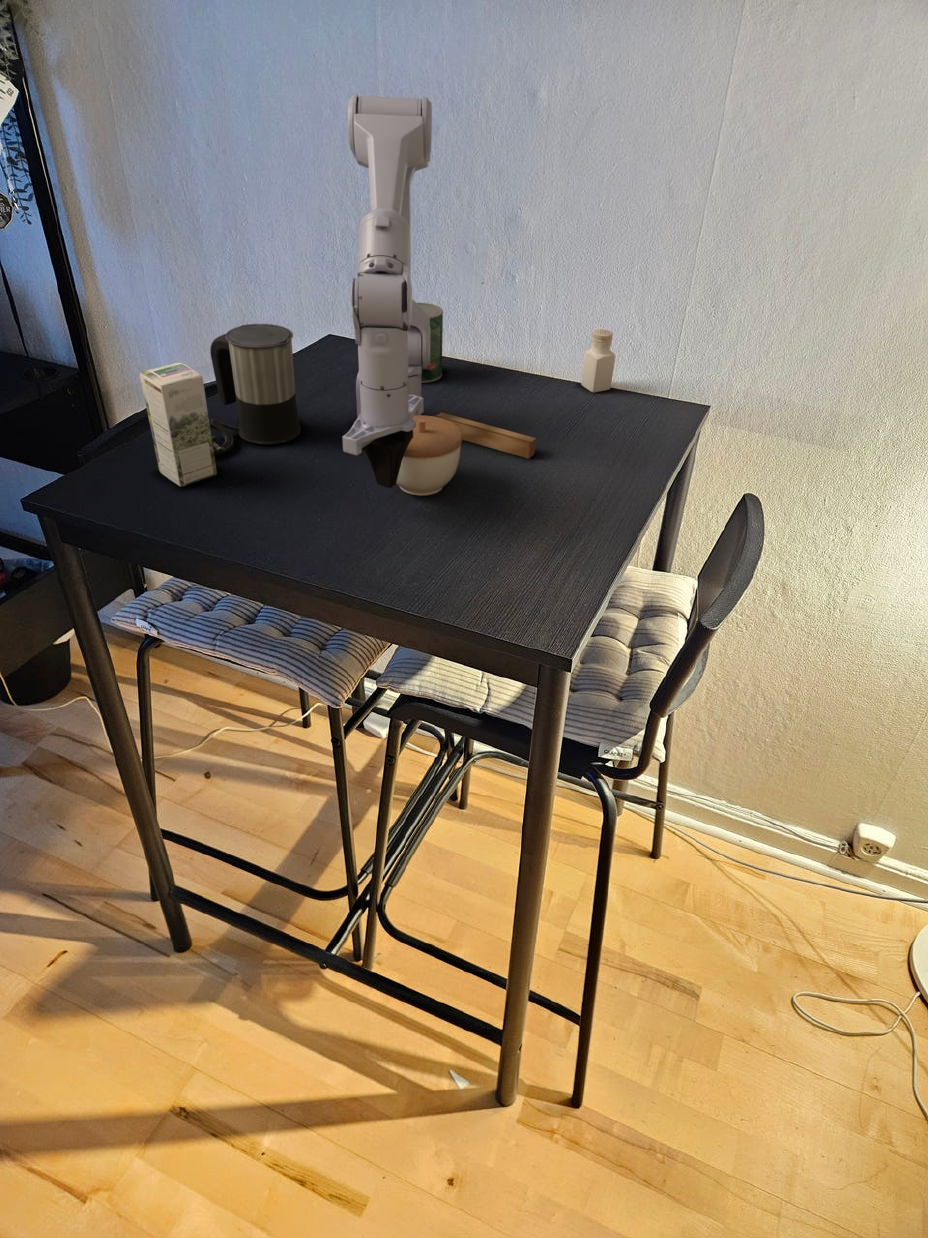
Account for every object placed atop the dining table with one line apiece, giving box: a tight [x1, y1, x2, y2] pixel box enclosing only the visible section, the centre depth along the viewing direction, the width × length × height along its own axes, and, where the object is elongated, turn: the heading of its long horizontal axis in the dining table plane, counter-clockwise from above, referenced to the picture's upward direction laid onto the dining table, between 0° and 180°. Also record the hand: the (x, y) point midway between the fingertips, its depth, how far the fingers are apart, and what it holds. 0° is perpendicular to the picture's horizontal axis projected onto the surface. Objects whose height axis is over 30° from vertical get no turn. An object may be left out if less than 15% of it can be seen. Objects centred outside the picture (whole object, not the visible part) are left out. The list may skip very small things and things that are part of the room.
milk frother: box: [209, 323, 302, 456], centre depth 118 cm, size 14×16×15 cm
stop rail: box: [434, 412, 537, 459], centre depth 124 cm, size 16×2×3 cm, turn 60°
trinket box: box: [395, 414, 463, 496], centre depth 111 cm, size 11×11×9 cm
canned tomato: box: [417, 302, 444, 384], centre depth 141 cm, size 8×8×11 cm
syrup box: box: [139, 361, 218, 488], centre depth 110 cm, size 6×6×14 cm
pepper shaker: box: [580, 328, 616, 393], centre depth 140 cm, size 4×4×10 cm
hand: (386, 483), depth 106 cm, fingers closed
